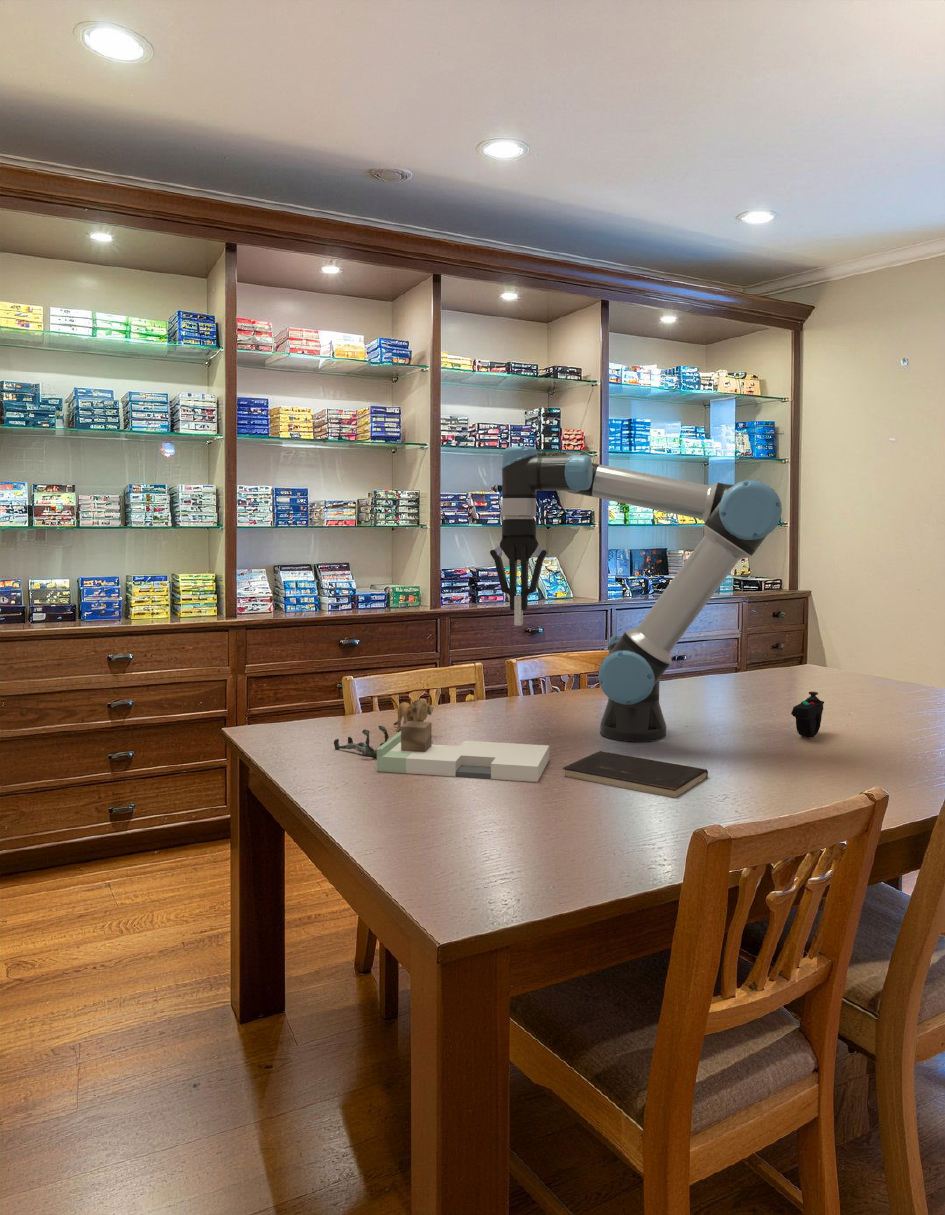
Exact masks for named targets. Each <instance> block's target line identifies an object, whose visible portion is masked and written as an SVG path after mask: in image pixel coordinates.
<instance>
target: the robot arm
mask: <svg viewBox="0 0 945 1215" xmlns="http://www.w3.org/2000/svg"><path fill="white" fill-rule="evenodd" d="M501 475H502V476H501V477H502V478H501V480H502V482H501V485H502V486H501V487H502V495H501V497H502V498H501V516H502V517H503V518H504V519H502V521H501V540H500V542H499V546H497V547H495V548H494V549H491V550H490V551H489V554H490V556H491V557H492V559H493V561H494V564H495V565H494V566H495V568H496V572H497V578H498V581H499V582H498V583H499V587H500V591H501V592H502V593H505V594H507V595H509V609H510V611H513V612H514V618H513V619H514V620H513V623H514V624H513V626H523V625H524V611H527V610H528V607H529V603H528V602H529V599H528V597H529V595H531V594H534V593H535V592H536V591H537V587H538V583H539V580H540V575H541V572H542V568H543V564H544V560H545V559H546V557H547V556H548V554H549V550H548V549H544V548H542V547H541V546H540V545H539V542H538V539H537V520H536V519H535V518H534V517H537V491H540V492H541V491H542V492H543V491H551V492H552V491H553V492H554V491H557V492H558V491H561V492H567V493H568V494H569V493H570V494H574V495H581V496H585V497H593V498H596V499H597V498H598V499H601V500H606V501H610V502H611V501H612V502H616V503H621V504H625V505H626V504H627V505H630V506H636V507H640V508H646V509H650V510H654V511H659V512H664V513H670V514H673V515H674V514H675V515H679V516H684V517H687V518H693V519H698V520H702V521H703V522H704V524H703V525H702V526H703V532H704V535H703V538H702V539H701V540H700V542H699V543H698V544H697V546H696V547H695V548H694V549H693V551H692V552H691V553H690V555H689V557H688V558H687V559H686V561H685V562H684V563H683V565H681V568H680V569H679V570H678V571H677V573H676V574H675V576H674V577H673V578H672V580H671V581H669V584H668V585H667V586H666V588H665V589H664V590H663V592H662V593H661V594H660V596H659V597H658V598H657V600H656V602H655V603H654V604H653V606H652V607H651V609H650V610H649V611H648V612H647V614H646V615H645V616H644V618H643V619H642V621H641V622H640V623H639V625H637V627H636V628H632V629H630V628H629V629H626V630H625V632H624V633H623V635H613V636H610V637H609V641H608V645H607V648H608V654H607V655H606V656H605V657H604V658H603V659H602V661H601V662H600V665H599V668H598V676H597V677H598V683H599V686H600V689H601V691H602V692H603V694H604V695H605V696H606V697H607V702H606V703H607V704H606V706H605V709H604V712H603V715H602V718H601V721H600V726H599V731H600V732H599V733H600V735H602V736H603V737H604V738H607V739H611V740H616V741H623V742H632V743H633V742H635V743H637V742H638V743H639V742H641V743H642V742H655V741H659V740H662V739H664V738H666V737H667V723H666V721H665V717H664V714H663V711H662V708H661V704H660V684H661V683H660V679H661V677H662V675H664V673H665V671H666V670H667V669H668V668H669V667H670V665H671V664H672V658H671V657H672V656H671V652H672V651H673V648H675V646H676V645H677V644H678V642H679V641H680V640H681V638H682V637H683V636H684V635H685V633H686V632H687V630H688V629H689V627H690V626H691V625H692V624H693V622H694V621H695V620H696V618H697V617H698V616H699V614H700V613H701V611H703V609H704V608H705V606H706V605H707V604H708V602H709V601H710V600H711V598H712V597H713V596H714V595H715V593H716V592H717V590H718V589H719V587H720V586H722V584H723V583H724V581H725V580H726V578H727V577H728V576H729V574H730V573H731V572H732V571H733V569H734V567H735V566H736V565H737V564H738V562H739V561H741V560H742V559H748V558H752V556H753V555H754V554H755V552H756V551H757V550H758V548H759V547H760V546H761V544H762V543H763V542H764V540H765V539H766V538H767V537H768V535H770V534H771V533H772V532H774V530H775V529H776V528H777V526H778V524H780V523H779V522H780V521H781V517H782V512H783V511H782V510H783V509H782V500H781V499H780V496H779V495H778V493H777V492H776V490H775V489H774V488H773V487H771V486H770V485H769V484H767V483H764V482H763V481H759V480H757V479H755V480H754V479H747V480H742V481H739V482H736V483H735V484H729V483H722V482H717V481H716V482H714V483H713V484H711V485H708V484H703V483H698V482H692V481H686V480H682V479H675V478H671V477H666V476H661V475H657V474H650V473H645V472H641V471H635V470H630V469H625V468H620V467H613V466H608V465H605V464H604V465H603V464H598V463H593V462H592V459H591V457H590V456H589V455H585V454H583V455H580V454H569V455H567V454H566V455H564V454H563V455H547V456H545V455H544V456H543V455H538V452H537V448H536V447H533V446H509V447H506V448H505V449H504V450H503V452H502V466H501ZM535 551H536V553H535ZM503 553H504V555H505V556H506V557H507V559H508V564H509V580H508V581H509V582H508V581H507V576H506V571H505V567H504V563H503V559H502V556H503ZM534 553H535V555H536V557H537V558H536V560H535V565H534V569H533V572H532V577H531V580H530V585H529V562H530V561H529V559H531V558H532V556H533V554H534ZM518 561H520V593H519V594H517V593H518V591H517V590H518V588H517V586H518V584H517V581H518V579H517V578H518V574H517V570H518ZM508 583H509V584H508Z"/></svg>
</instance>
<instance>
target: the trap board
mask: <svg viewBox="0 0 945 1215" xmlns="http://www.w3.org/2000/svg"><path fill="white" fill-rule="evenodd" d="M384 742H385V741H384ZM384 742H383V743H384ZM376 750H377V758H376V772H382V773H395V774H396V773H397V774H411V775H412V774H413V775H424V776H425V775H428V776H440V777H441V776H442V777H444V776H445V777H454V778H458V777H459V778H470V779H471V778H472V779H488V780H500V781H501V780H502V781H503V780H504V781H515V782H516V781H517V782H533V783H538V782H539V781H540V778H541V777H542V775H543V772H544V770H545V769H546V766H547V764H548V763H549V761H550V745H547V744H546V745H545V744H527V743H514V742H513V743H512V742H509V743H508V742H494V741H493V742H491V741H477V740H476V741H475V740H464V741H463V742H462V743H461V744H460V745H447V744H434V739H433V738H432V746H431V747H430V748H429V749H428V750H427V751H426V752H413V751H401V731H399V732H397V733H396V734H394V735H393V736H392V737H391V738H388V739H387V742H385V743H384V744H383V745H381V746H380V745H379V747H377V749H376Z"/></svg>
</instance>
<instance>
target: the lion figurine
mask: <svg viewBox="0 0 945 1215" xmlns="http://www.w3.org/2000/svg"><path fill="white" fill-rule="evenodd" d="M427 701H428V700H427V699H425V698H419V699H416V700H414V701H413V702H410V703H409V702H405V701H404V702H401V703H400V704H399V705H398V709H397V721H396V722H393V726H397V729H396V732H397V733H399V732H400V731H401V726H402V725H404V724H405V723H406V722H408V721H417V722H425V720H427V718H428V716H432V713H433V712H434V709H435V708H434V707H433V706H432V705H430V704H429V703H428V702H427ZM402 719H403V724H402ZM401 724H402V725H401Z"/></svg>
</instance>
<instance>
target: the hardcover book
mask: <svg viewBox="0 0 945 1215" xmlns="http://www.w3.org/2000/svg"><path fill="white" fill-rule="evenodd" d="M562 770H564V776H565V777H566V778H567V777H568V778H573V779H577V780H582V781H588V782H593V783H598V784H602V785H608V786H612V787H618V788H623V789H629V790H634V791H639V792H643V793H648V794H654V795H658V794H659V796H663V795H664V797H670V798H676V796H677V797H678V796H679V794H680V795H681V794H683V793H685V792H686V791H687V789H688V788H689V787H691V788H692V787H694V786H695V785H698V784H699V783H700V782H701V781H700V780H702V781H703V780H705V779H707V777H708V778H709V770H708V769H707V768H701V767H695V766H689V765H684V764H679V763H674V762H667V761H660V760H655V759H650V758H643V757H638V756H631V755H627V754H620V753H615V752H610V751H604V750H598V751H597V752H594V753H593V754H590V755H588V756H585V757H584V758H581V759H578V760H577V761H575V762H572V763H569V764H568V765H565V766H563V767H562ZM699 781H700V782H699ZM689 789H690V788H689ZM689 789H688V790H689Z"/></svg>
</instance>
